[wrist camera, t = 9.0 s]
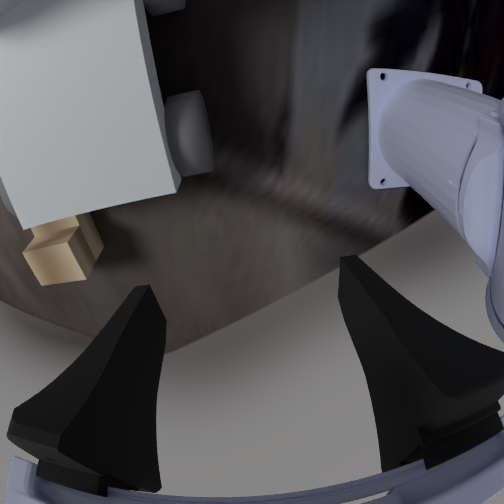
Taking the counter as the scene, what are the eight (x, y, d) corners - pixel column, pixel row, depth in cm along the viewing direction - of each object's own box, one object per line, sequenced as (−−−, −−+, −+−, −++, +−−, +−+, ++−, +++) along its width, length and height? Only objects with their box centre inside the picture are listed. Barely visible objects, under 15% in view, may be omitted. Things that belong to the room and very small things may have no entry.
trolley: (179, -46, 10) (123, -129, 2) (215, 156, 18) (197, 257, 9) (3, 36, 10) (-108, 60, 2) (47, 198, 18) (-32, 290, 10)
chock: (80, 186, 18) (54, 214, 15) (105, 244, 21) (86, 279, 18) (37, 200, 18) (9, 228, 15) (62, 253, 21) (41, 285, 18)
